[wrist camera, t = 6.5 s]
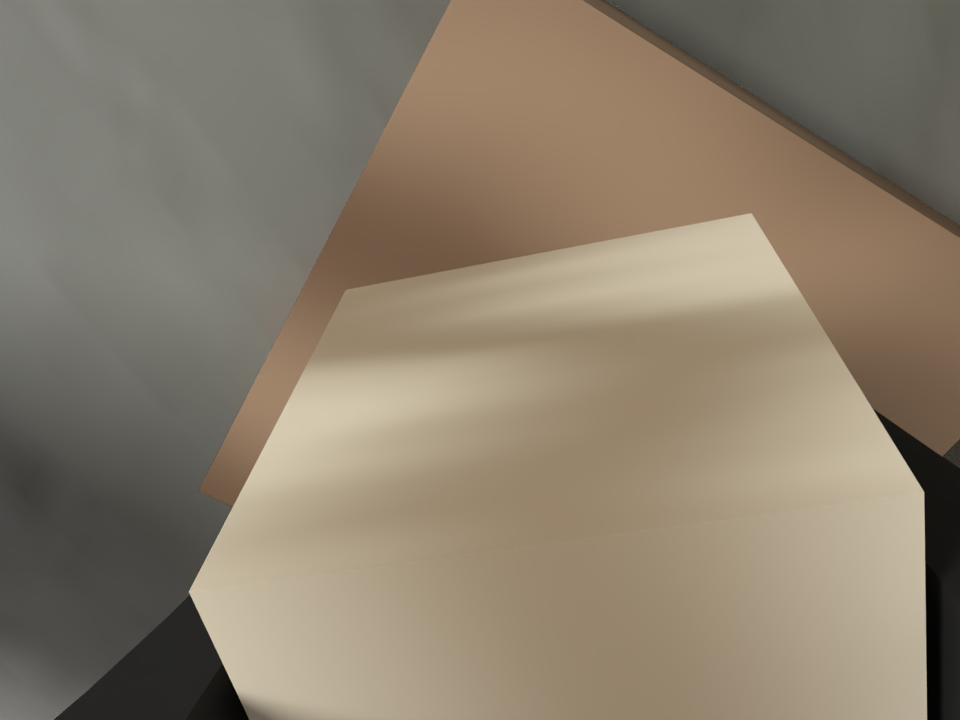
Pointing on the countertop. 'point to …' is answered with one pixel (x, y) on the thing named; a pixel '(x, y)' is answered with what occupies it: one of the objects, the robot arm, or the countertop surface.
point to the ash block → (577, 504)
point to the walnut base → (622, 200)
